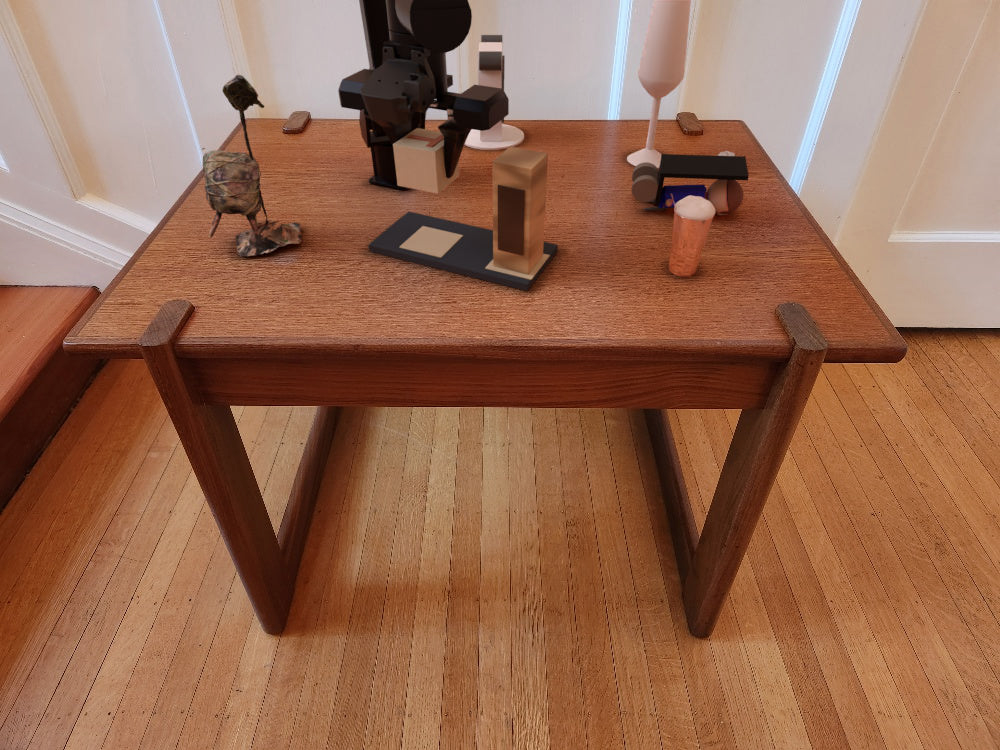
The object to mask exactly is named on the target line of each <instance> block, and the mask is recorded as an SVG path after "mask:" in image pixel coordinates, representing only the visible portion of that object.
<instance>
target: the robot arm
mask: <svg viewBox="0 0 1000 750" xmlns="http://www.w3.org/2000/svg"><path fill="white" fill-rule="evenodd" d="M358 2H359V9H360V15H361V21H362V28H363V33H364V41H365V46H366V47H365V48H366V53H367V59H368V65H369V66H368V67H369V68H363V69H361V70H358V71H357V72H354V73H353V74H351V75H348V76H347V77H345V78H342V80H341V81H340V82H339V86H338V90H337V92H338V98H339V104H340V107H341V108H343V109H350V110H356V111H359V119H358V120H359V121H358V123H359V127H360V133H361V137H362V140H363V142H364V143H365V146H366V147H367V149H370V152H371V153H370V154H371V162H372V168H373V169H372V170H373V175H371V177H370V178H368V183H369V184H372V185H377V186H381V187H386V188H391V189H395V190H400V191H406V190H408V188H407V187H402V186H398V184H397V176H396V167H395V158H394V149H393V144H394V143H395V142H397V141H398V140H400V139H401V138H403V137H404V136H406V135H407V134H409V133H410V132H412V131H413V130H415V129H416V128H420V129H426V119H427V112H428V110H429V109H432V110H439V111H445V112H446V115H447V120H446V121H444V122H442V123H441V124H440V125H438V126H437V129H438V131H439V132H441V133H442V135H443V137H444V164H445V172H446V177H447V178H451V177H452V176H453V174H454V172H455V169H456V166H457V163H458V161H459V162H460V157H461V155H462V152H463V149H464V146H465V145H464V144H465V142H466V139H467V137H468V135H469V133H470V131H471V129H474V130H480V131H484V130H489V129H491V128H492V127H493V126H494V125H496V124H497V123H498V122H499V121H501V120H502V119H503V118H504V119H505V118H506V117H507V116H508V115H509V109H510V108H509V107H510V106H509V105H510V104H509V103H510V101H509V97H508V95H507V93H506V91H505V89H504V90H503V89H502V88H495V87H488V86H481V85H478V84H473V85H472V86H470V87H469V88H467V89H465V90H464V91H462V92H461V93H459V92H452V91H449V89H448V88H450V87H452V86H453V85H454V80H453V79H454V78H453V77H454V75H452V74H448V71H447V53H449V52H452V51H454V50H456V49H457V48H458V47H460V46H461V45H462V44H463V42H464V41H465V40H466V38H467V37H468V35H469V34H470V30H471V27H472V20H473V19H472V18H473V14H472V13H473V12H472V8H471V5H470V3H469V0H358Z"/></svg>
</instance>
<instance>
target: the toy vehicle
mask: <svg viewBox="0 0 1000 750" xmlns="http://www.w3.org/2000/svg"><path fill="white" fill-rule="evenodd" d="M749 177H750V176H749V169H748V164H747V158H746V156H742V155H741V156H740V155H738V156H737V155H735V156H717V155H713V154H712V155H708V154H675V153H674V154H673V153H671V154H670V153H661V161H660V166H659V168H657V167H656V166H655V165H654V164H652V163H648V162H645V163H640V164H638V165H637V166H635V167H634V168H633V170H632V175H631V180H632V186H631V195H632V197H633V198H634V199H635V200H636V201H639V202H641V203H646V204H647V203H649V204H650V203H651V204H653V203H654V207H652V206H651V207H644V208H643V209H642V210H643V211H645V212H663V211H666V210H667V209H674V204H673V200H674V203H675V204H676V203H677V202H678V201H680V200H681V199H683V198H685V197H687V196H690V195H692V196H700V197H703V198H704V199H706V200H708V201H710V202H711V203H712V205H713V206H714V208H715V214H716V215H719V216H727V215H730V214H733V213H734V212H736V211H737V210H738V209H739V208H740V207H741V206H742V203H743V201H744V189H743V186H742V185H741V183H740V182H739V181H746V182H747V181H748V180H749ZM665 178H667V179H693V180H714V181H713V182H712V183H711V184H710V185H709V187H708V188H707V187H706V184H667V185H664V183H665ZM671 194H672V196H673V200H672V196H671Z"/></svg>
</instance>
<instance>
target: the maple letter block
mask: <svg viewBox="0 0 1000 750" xmlns="http://www.w3.org/2000/svg"><path fill="white" fill-rule="evenodd" d="M548 160H549V153H548V152H543V151H538V150H533V149H532V150H531V149H527V148H521V147H516V146H514V147H509V148H507V149H504V151H503V152H502V153H501V154H500V155H498V156H497V157H496V158H494V159H493V160H492V162H491V163H492V165H491V167H492V169H491V170H492V230H493V266H495V267H499V268H503V269H507V270H511V271H515V272H519V273H523V274H527V275H528V274H529V273H530V272H531V271H532V269H533V268H534V267H535V266H536V264H537V263H538V262H539V261H540V260H541V258H542V257H543V244H544V242H545V223H546V222H545V221H546V202H547V181H548Z"/></svg>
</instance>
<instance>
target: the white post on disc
mask: <svg viewBox="0 0 1000 750" xmlns="http://www.w3.org/2000/svg"><path fill="white" fill-rule="evenodd" d="M505 56H506V55H503V34H480V41H479V43H478V57H477V58H478V59H477V60H478V61H477V64H478V65H477V75H478V76H477V78H478V79H477V85H481V86H488V87H495V88H502V89H503V90H504V91H505V64H506V63H505ZM524 140H525V133H524V132H523V130H521V129H520V128H518V127H516V126H513V125H510V124H505V117H504V118H503V119H502V120H501V121H499V122H498V123H497V124H496V125H494V126H493V127H492V128H491V129H489V130H484V131H480V130H474V129H471V131H470V133H469V135H468V137H467V139H466V142H465V144H464V146H466V147H468V148H471V149H475V150H480V151H481V150H482V151H499V150H507V149H508V148H509V147H516V146H519V145H520V144H522V143H523V141H524Z"/></svg>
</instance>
